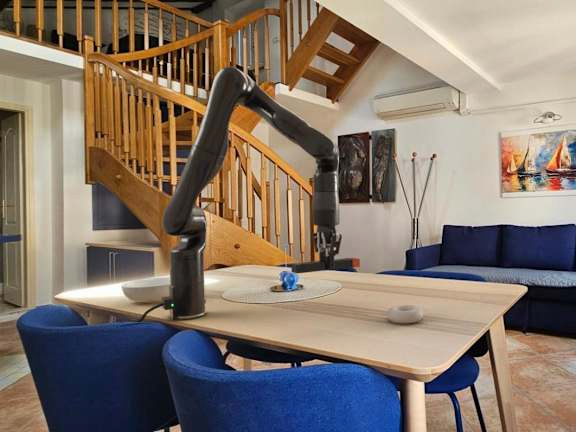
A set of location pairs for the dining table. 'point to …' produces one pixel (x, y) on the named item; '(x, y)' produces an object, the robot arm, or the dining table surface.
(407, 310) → the donut
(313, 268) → the dark rod red tip
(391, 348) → the dining table surface
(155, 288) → the serving bowl
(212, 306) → the dining table surface
